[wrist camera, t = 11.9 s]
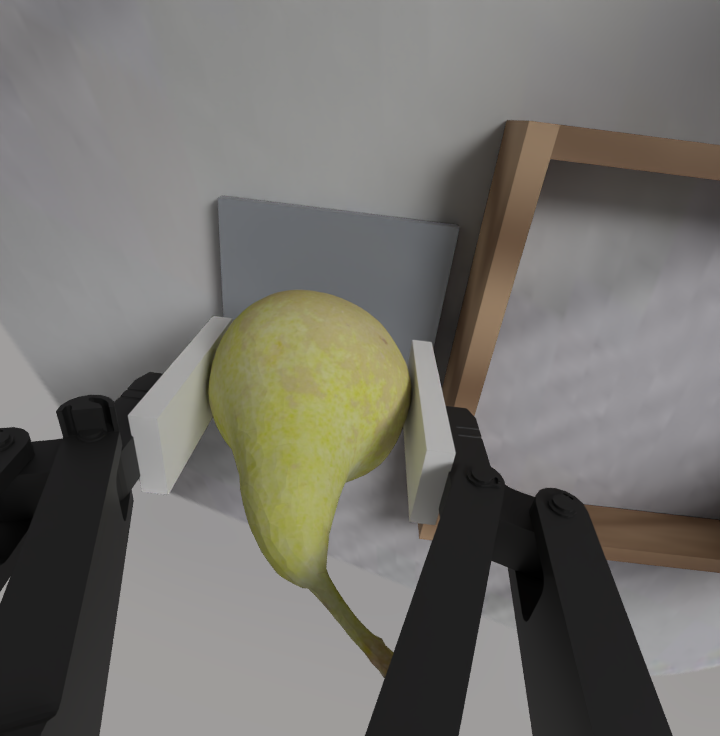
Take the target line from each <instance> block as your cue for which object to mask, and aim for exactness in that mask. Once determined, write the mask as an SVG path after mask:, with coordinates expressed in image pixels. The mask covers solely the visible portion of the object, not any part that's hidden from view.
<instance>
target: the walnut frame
mask: <svg viewBox="0 0 720 736" xmlns="http://www.w3.org/2000/svg"><path fill="white" fill-rule="evenodd" d="M550 159H554V160H562V161H570V162H578V163H586V164H593V165H601V166H609V167H617V168H625V169H633V170H641V171H649V172H657V173H665V174H672V175H680V176H688V177H696V178H704V179H712V180H720V145H714V144H706V143H699V142H691V141H683V140H675V139H667V138H659V137H652V136H644V135H636V134H628V133H620V132H612V131H605V130H597V129H589V128H581V127H573V126H565V125H558V124H550V123H542V122H534V121H515V120H507V121H506V125H505V129H504V133H503V138H502V142H501V146H500V150H499V154H498V158H497V162H496V167H495V171H494V175H493V179H492V183H491V187H490V192H489V196H488V200H487V204H486V208H485V212H484V216H483V221H482V225H481V229H480V233H479V237H478V241H477V246H476V250H475V254H474V258H473V262H472V266H471V270H470V275H469V279H468V283H467V287H466V291H465V295H464V299H463V304H462V308H461V312H460V316H459V320H458V324H457V329H456V333H455V337H454V341H453V345H452V349H451V353H450V358H449V362H448V366H447V370H446V374H445V378H444V383H443V387H442V392H443V397H444V402H445V406H451V407H460V408H467V409H468V410H469V411H470V412H471V413H472V415H473V416H474V415H475V412H476V408H477V405H478V402H479V398H480V395H481V392H482V388H483V385H484V381H485V378H486V375H487V371H488V368H489V364H490V361H491V358H492V354H493V351H494V347H495V344H496V341H497V337H498V334H499V331H500V327H501V324H502V320H503V317H504V314H505V310H506V307H507V303H508V300H509V297H510V293H511V290H512V286H513V283H514V280H515V276H516V273H517V269H518V266H519V263H520V259H521V256H522V253H523V249H524V246H525V242H526V239H527V236H528V232H529V229H530V225H531V222H532V219H533V215H534V212H535V208H536V205H537V202H538V198H539V195H540V192H541V188H542V185H543V181H544V178H545V175H546V171H547V168H548V164H549V161H550ZM584 506H585V507H586V509H587V511H588V513H589V515H590V518H591V521H592V523H593V526H594V528H595V531H596V534H597V536H598V539H599V542H600V544H601V547H602V550H603V552H604V555H605V558H606V560H611V561H620V562H629V563H638V564H647V565H655V566H664V567H673V568H682V569H691V570H700V571H708V572H717V573H720V520H714V519H706V518H697V517H688V516H680V515H671V514H662V513H654V512H645V511H636V510H628V509H619V508H610V507H602V506H593V505H584ZM439 520H440V516H439V514H438V518H437V521H436V525H429V524H420V523H418V529H419V539H426V540H433V537H434V534H435V531H436V528H437V526H438V523H439Z"/></svg>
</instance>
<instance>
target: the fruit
mask: <svg viewBox="0 0 720 736" xmlns="http://www.w3.org/2000/svg"><path fill="white" fill-rule="evenodd" d="M208 394H209V403H210V407H211V411H212V415H213V418H214V421H215V423H216V426H217V428H218V430H219V432H220V433H221V435H222V437H223V439H224V440H225V441H226V443H227V444H228V445H229V447H230V448H231V449H232V451H233V455H234V458H235V462H236V466H237V469H238V472H239V477H240V490H241V496H242V501H243V505H244V509H245V513H246V516H247V520H248V523H249V526H250V528H251V531H252V533H253V535H254V537H255V539H256V541H257V543H258V546H259V548H260V550H261V552H262V553H263V555H264V556H265V558H266V559H267V561H268V562H269V563H270V564H271V566H272V567H273V568H274V570H275V571H276V572H277V573H278V574H279V575H280V576H281V577H283V578H284V579H286V580H288V581H290V582H292V583H293V584H295V585H297V586H299V587H302V588H308V589H309V590H310V591H311V592H312V593H313V594H314V595H315V596H316V597H317V598H318V599H319V600H320V601H321V602H322V603H323V605H324V606H325V607H326V608H327V609H328V610H329V611H330V613H331V614H332V615H333V617H334V618H335V619H336V620H337V621H338V622H339V624H340V625H341V626H342V627H343V629H344V630H345V631H346V633H347V634H348V635H349V636H350V637H351V639H352V640H353V641H354V642H355V643H356V644H357V645H358V646H359V647H360V649H361V650H362V651H363V652H364V653H365V654H366V656H367V657H368V658H369V660H370V661H371V663H372V664H373V665H374V666H375V667H376V668H377V669H378V670H379V671H380V673H381V674H382V676H383V677H384V678H385V676H386V673H387V670H388V668H389V665H390V662H391V659H392V656H393V653H394V652H392V651H391V650H390V649H389V648H388V647H387V646H385V644H384V642H383V640H382V639H381V638H379V637H377V636H375V635H374V634H372V633H371V632H370V631H369V630H368V629H367V628H366V627H365V626H364V625H363V624H362V623H361V622H360V621H359V620H358V619H357V617H356V616H355V615H354V614H353V612H352V611H351V610H350V608H349V607H348V605H347V604H346V603H345V601H344V600H343V598H342V597H341V595H340V594H339V592H338V591H337V589H336V587H335V586H334V584H333V582H332V581H331V579H330V577H329V575H328V572H327V569H326V563H327V551H328V541H329V533H330V530H331V525H332V521H333V518H334V514H335V511H336V507H337V503H338V500H339V497H340V494H341V492H342V489H343V487H344V484H345V483H346V482H349V481H351V480H354V479H356V478H359V477H361V476H363V475H365V474H367V473H369V472H370V471H372V470H373V469H375V468H376V467H378V466H379V465H380V464H381V463H382V462H383V461H384V460H385V459H386V457H387V456H388V455H389V453H390V452H391V450H392V449H393V447H394V446H395V444H396V442H397V440H398V438H399V436H400V433H401V431H402V428H403V426H404V423H405V421H406V418H407V415H408V411H409V408H410V404H411V379H410V375H409V371H408V368H407V365H406V362H405V360H404V358H403V356H402V354H401V352H400V350H399V349H398V347H397V345H396V343H395V342H394V340H393V339H392V337H391V336H390V334H389V333H388V332H387V330H386V329H385V328H384V326H383V325H382V324H381V323H380V322H379V321H378V320H377V319H376V318H374V317H373V316H372V315H371V314H369V313H368V312H367V311H365V310H364V309H362V308H361V307H359V306H357V305H355V304H353V303H351V302H349V301H347V300H344V299H342V298H339V297H337V296H334V295H331V294H327V293H322V292H317V291H311V290H288V291H281V292H277V293H274V294H271V295H269V296H267V297H265V298H262V299H261V300H259V301H257V302H255V303H253V304H252V305H250V306H249V307H248V308H246V309H245V310H244V311H243V312H242V313H241V314H240V315H239V316H238V317H237V318H236V319H235V320H234V321H233V322H232V324H231V325H230V326H229V328H228V329H227V331H226V332H225V334H224V336H223V337H222V339H221V341H220V344H219V346H218V348H217V350H216V353H215V357H214V360H213V363H212V368H211V373H210V379H209V388H208Z"/></svg>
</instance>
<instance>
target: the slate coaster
mask: <svg viewBox="0 0 720 736" xmlns="http://www.w3.org/2000/svg"><path fill="white" fill-rule="evenodd" d="M218 217H219V238H220V258H221V279H222V300H223V317H226V318H233V321H234V320H235V319H236V318H237V317H238V316H239V315H240V314H241V313H242V312H243V311H244V310H245V309H246V308H248V307H249V306H250V305H252V304H253V303H255V302H257V301H259V300H261V299H262V298H265V297H267V296H269V295H271V294H274V293H277V292H281V291H288V290H311V291H317V292H322V293H327V294H331V295H334V296H337V297H339V298H342V299H344V300H347V301H349V302H351V303H353V304H355V305H357V306H359V307H361V308H362V309H364V310H365V311H367V312H368V313H369V314H371V315H372V316H373V317H374V318H376V319H377V320H378V321H379V322H380V323H381V324H382V325H383V326H384V328H385V329H386V330H387V332H388V333H389V334H390V336H391V337H392V339H393V340H394V342H395V343H396V345H397V347H398V349H399V350H400V352H401V354H402V356H403V358H404V360H405V362H406V365H407V366H408V360H409V355H410V350H411V344H412V340H418V341H427V342H432V346H433V348H434V343H435V339H436V334H437V329H438V325H439V320H440V316H441V311H442V306H443V302H444V297H445V293H446V288H447V283H448V279H449V274H450V270H451V265H452V261H453V256H454V251H455V247H456V242H457V238H458V233H459V226H458V225H455V224H447V223H439V222H431V221H423V220H415V219H407V218H399V217H390V216H382V215H374V214H366V213H358V212H350V211H342V210H334V209H326V208H318V207H310V206H302V205H294V204H286V203H278V202H269V201H261V200H253V199H245V198H237V197H229V196H220V197H218Z"/></svg>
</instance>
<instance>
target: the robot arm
mask: <svg viewBox="0 0 720 736" xmlns="http://www.w3.org/2000/svg"><path fill="white" fill-rule="evenodd" d="M232 322H233V318H226V317H218V316H212V318H211V319H210V320H209V321H208V322H207V324H206V325H205V326H204V327H203V328H202V329H201V331H200V332H199V333H198V334H197V335H196V336H195V338H194V339H193V340H192V341H191V342H190V343H189V345H188V346H187V347H186V348H185V349H184V350H183V352H182V353H181V354H180V355H179V356H178V357H177V359H176V360H175V361H174V362H173V363H172V364H171V366H170V367H169V368H168V369H167V370H166V371H165V373H164V374H161V373H153V372H149V373H147V374H145V375H143V376H142V377H140V378H138V379H136V380H135V381H134V382H133V383H132V384H131V385H130V386H129V387H128V390H126V391H125V392H124V393H123V394H122V395H121V397H120V398H118V399H117V400H116V401H115V402H114V401H113V400H111V399H110V398H109V397H106V396H102V395H87V396H81V397H77V398H75V399H72V400H69V401H67V402H66V403H64V404H62V405H61V406H60V407H59V408H58V410H57V411H56V413H57V417H58V420H59V424H60V427H61V431H62V434H63V439H56V440H47V441H35V442H31V440H30V436H29V433H28V432H26V431H25V430H24V429H21V428H15V427H12V428H0V591H1V590H2V588H3V587H4V585H5V584H6V582H7V581H8V579H9V578H10V580H9V582H8V585H7V587H6V590H5V593H4V595H3V598H2V601H1V603H0V736H99V734H100V727H101V720H102V712H103V706H104V699H105V693H106V686H107V678H108V672H109V665H110V658H111V651H112V644H113V638H114V631H115V624H116V617H117V611H118V604H119V597H120V590H121V583H122V575H123V569H124V562H125V556H126V549H127V548H126V547H127V542H128V535H129V528H130V521H131V514H132V507H133V495H132V488H133V486H134V485H135V483H136V482H137V480H138V479H139V478H140V484H141V489H142V492H147V493H155V494H164V495H169V493H170V491H171V490H172V488H173V486H174V484H175V482H176V481H177V479H178V477H179V475H180V474H181V472H182V470H183V468H184V467H185V465H186V463H187V461H188V460H189V458H190V456H191V454H192V453H193V451H194V449H195V447H196V445H197V444H198V442H199V440H200V438H201V437H202V435H203V433H204V431H205V430H206V428H207V426H208V424H209V423H210V421H211V419H212V417H213V415H212V411H211V407H210V403H209V394H208V388H209V379H210V373H211V368H212V363H213V360H214V357H215V353H216V350H217V348H218V346H219V344H220V341H221V339H222V337H223V336H224V334H225V332H226V331H227V329H228V328H229V326H230V325H231V324H232ZM407 368H408V371H409V375H410V379H411V404H410V408H409V411H408V415H407V418H406V421H405V423H404V426H403V430H404V445H405V460H406V475H407V491H408V506H409V521H410V522H411V523H420V524H429V525H436V521H437V518H438V514H439V516H440V520H439V523H438V526H437V528H436V531H435V534H434V537H433V540H432V543H431V546H430V549H429V552H428V555H427V557H426V560H425V563H424V566H423V569H422V572H421V575H420V578H419V581H418V584H417V586H416V589H415V592H414V595H413V598H412V601H411V604H410V607H409V610H408V612H407V615H406V618H405V622H404V624H403V627H402V630H401V633H400V636H399V639H398V641H397V644H396V647H395V650H394V653H393V656H392V659H391V662H390V665H389V668H388V670H387V673H386V676H385V679H384V682H383V685H382V688H381V691H380V694H379V697H378V699H377V702H376V705H375V708H374V711H373V714H372V717H371V720H370V723H369V726H368V728H367V732H366V734H365V736H458V735H459V729H460V725H461V720H462V714H463V709H464V704H465V698H466V692H467V688H468V682H469V677H470V672H471V666H472V661H473V656H474V650H475V645H476V639H477V634H478V629H479V624H480V618H481V613H482V608H483V602H484V597H485V592H486V586H487V581H488V576H489V570H490V565H491V561H494V562H496V563H499V564H501V565H504V566H506V567H508V572H509V578H510V585H511V592H512V599H513V606H514V612H515V619H516V626H517V633H518V639H519V646H520V653H521V660H522V667H523V673H524V680H525V687H526V693H527V700H528V707H529V714H530V721H531V727H532V734H533V736H672V733H671V730H670V727H669V725H668V722H667V719H666V717H665V714H664V712H663V709H662V706H661V704H660V701H659V698H658V696H657V693H656V690H655V688H654V685H653V682H652V680H651V677H650V674H649V672H648V669H647V666H646V664H645V661H644V658H643V656H642V653H641V651H640V648H639V645H638V643H637V640H636V637H635V635H634V632H633V629H632V627H631V624H630V621H629V619H628V616H627V613H626V611H625V608H624V605H623V603H622V600H621V597H620V595H619V592H618V589H617V587H616V584H615V582H614V579H613V576H612V574H611V571H610V568H609V566H608V563H607V560H606V558H605V555H604V552H603V550H602V547H601V544H600V542H599V539H598V536H597V534H596V531H595V528H594V526H593V523H592V521H591V518H590V515H589V513H588V511H587V509H586V507H585V506H584V504H583V503H582V502H581V501H580V500H578V499H577V498H576V497H575V496H573V495H571V494H570V493H568V492H566V491H563V490H560V489H557V488H545V489H542V490H540V491H539V492H538V493H537V494H536V496H535V497H533V496H530V495H527V494H524V493H521V492H519V491H516V490H514V489H512V488H510V487H508V486H506V485H505V482H504V479H503V478H502V476H501V475H500V474H499V473H498V472H497V471H496V470H495V469H493V468H492V467H491V466H490V463H489V460H488V456H487V453H486V450H485V447H484V443H483V440H482V439H481V434H480V430H479V427H478V424H477V421H476V418H475V417H474V416H473V415H472V413H471V412H470V411H469V410H468V409H467V408H460V407H451V406H445V402H444V397H443V392H442V388H441V383H440V378H439V374H438V369H437V365H436V360H435V355H434V351H433V346H432V342H427V341H418V340H412V344H411V350H410V355H409V360H408V366H407ZM10 576H11V577H10Z"/></svg>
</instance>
